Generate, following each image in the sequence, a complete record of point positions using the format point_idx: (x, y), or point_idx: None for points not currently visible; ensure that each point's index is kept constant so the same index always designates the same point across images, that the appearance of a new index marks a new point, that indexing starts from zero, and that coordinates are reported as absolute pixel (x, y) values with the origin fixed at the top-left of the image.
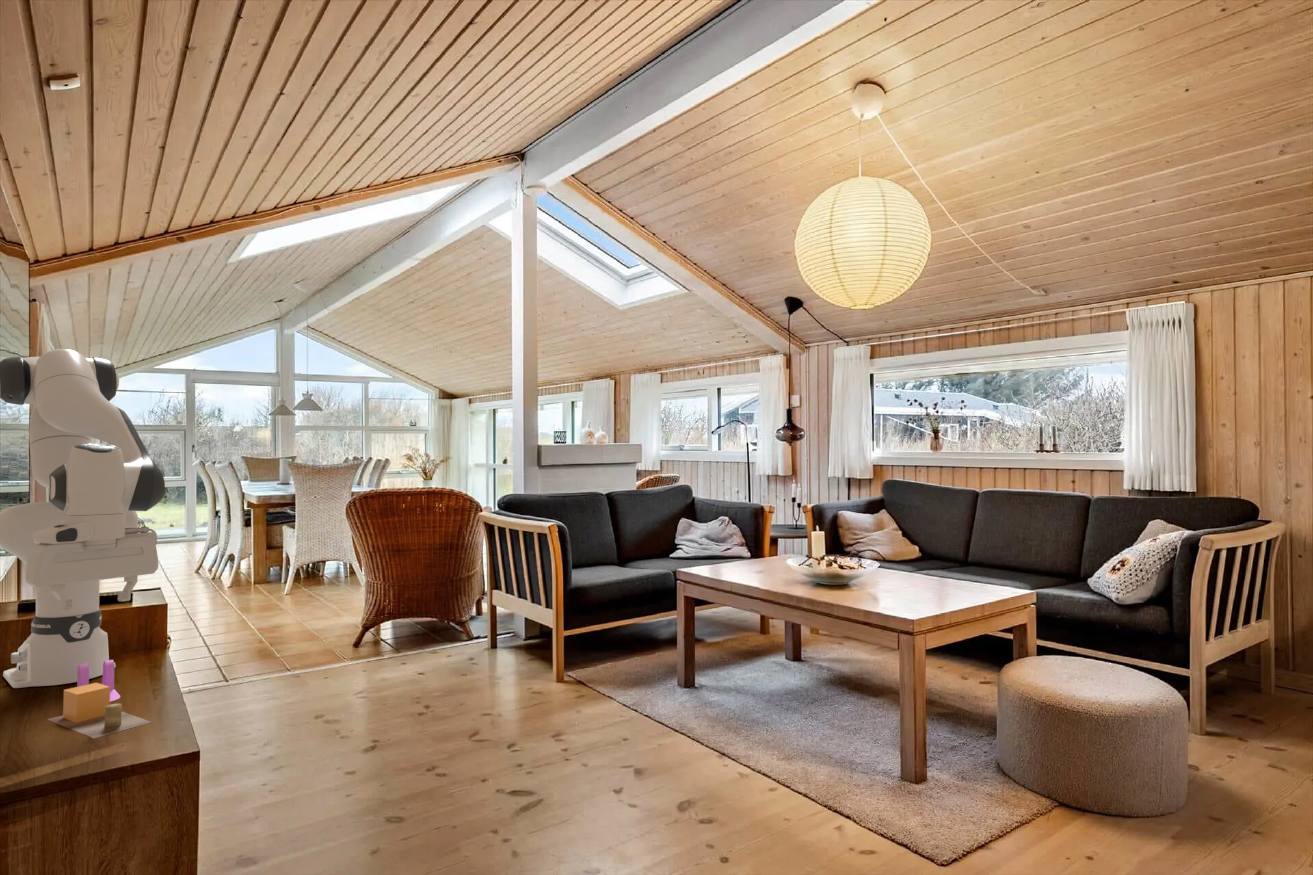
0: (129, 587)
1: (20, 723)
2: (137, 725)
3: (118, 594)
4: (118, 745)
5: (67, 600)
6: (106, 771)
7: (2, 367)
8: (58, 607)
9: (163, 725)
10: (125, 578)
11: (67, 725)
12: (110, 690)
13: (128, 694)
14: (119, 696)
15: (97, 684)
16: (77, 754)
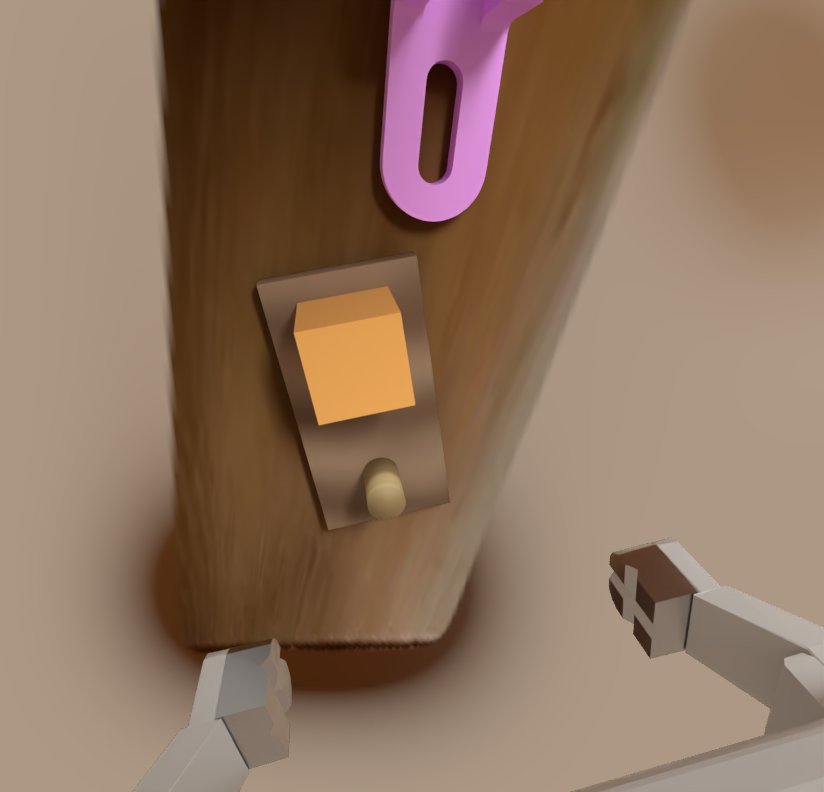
0: (725, 677)
1: (189, 170)
2: (420, 504)
3: (640, 598)
4: (365, 545)
5: (253, 760)
6: (318, 648)
7: None
8: (204, 662)
9: (471, 482)
10: (807, 712)
11: (296, 393)
12: (492, 40)
13: (534, 72)
14: (482, 175)
15: (395, 341)
16: (293, 547)
